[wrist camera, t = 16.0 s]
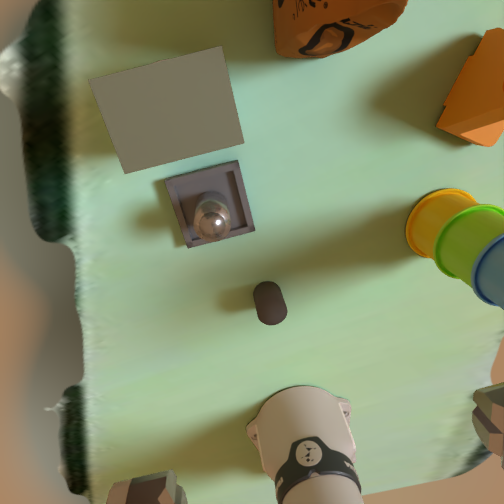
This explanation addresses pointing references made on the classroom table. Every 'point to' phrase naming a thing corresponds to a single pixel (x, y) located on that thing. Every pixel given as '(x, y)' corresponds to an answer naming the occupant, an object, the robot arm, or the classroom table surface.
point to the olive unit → (169, 109)
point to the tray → (210, 179)
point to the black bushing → (269, 303)
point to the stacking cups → (461, 240)
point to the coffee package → (329, 24)
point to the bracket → (478, 94)
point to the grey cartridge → (212, 216)
